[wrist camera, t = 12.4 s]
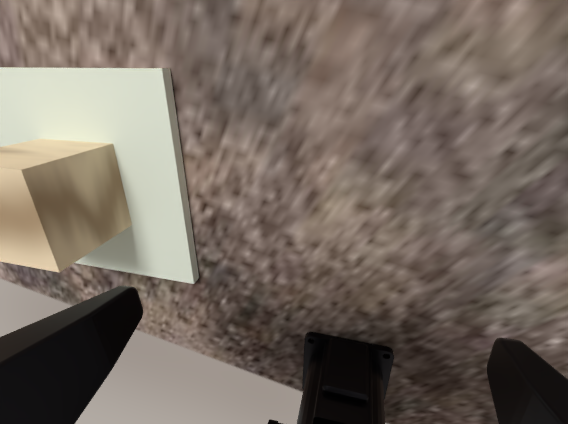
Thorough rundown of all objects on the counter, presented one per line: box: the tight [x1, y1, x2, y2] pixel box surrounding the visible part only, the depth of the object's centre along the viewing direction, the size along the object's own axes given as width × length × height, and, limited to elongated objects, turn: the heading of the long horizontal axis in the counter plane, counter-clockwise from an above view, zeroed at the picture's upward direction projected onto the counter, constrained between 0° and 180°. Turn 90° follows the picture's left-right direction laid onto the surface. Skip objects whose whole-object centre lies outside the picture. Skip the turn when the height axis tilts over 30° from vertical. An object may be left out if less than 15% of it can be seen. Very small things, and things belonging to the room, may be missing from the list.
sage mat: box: [0, 68, 199, 284], centre depth 22 cm, size 15×15×1 cm
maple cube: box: [0, 139, 132, 272], centre depth 19 cm, size 6×6×6 cm
